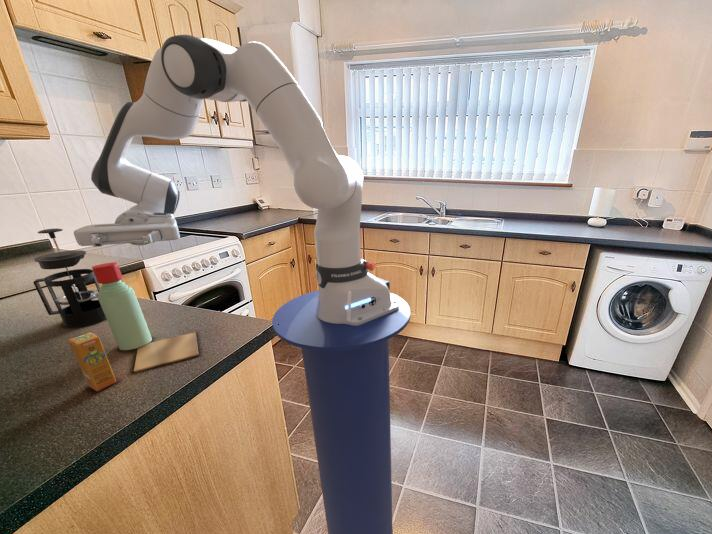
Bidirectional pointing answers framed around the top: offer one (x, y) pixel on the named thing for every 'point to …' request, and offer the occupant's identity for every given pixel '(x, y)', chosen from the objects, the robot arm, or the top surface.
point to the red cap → (107, 272)
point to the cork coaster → (166, 351)
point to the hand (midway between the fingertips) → (121, 241)
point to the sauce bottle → (124, 315)
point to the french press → (70, 287)
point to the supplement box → (92, 361)
